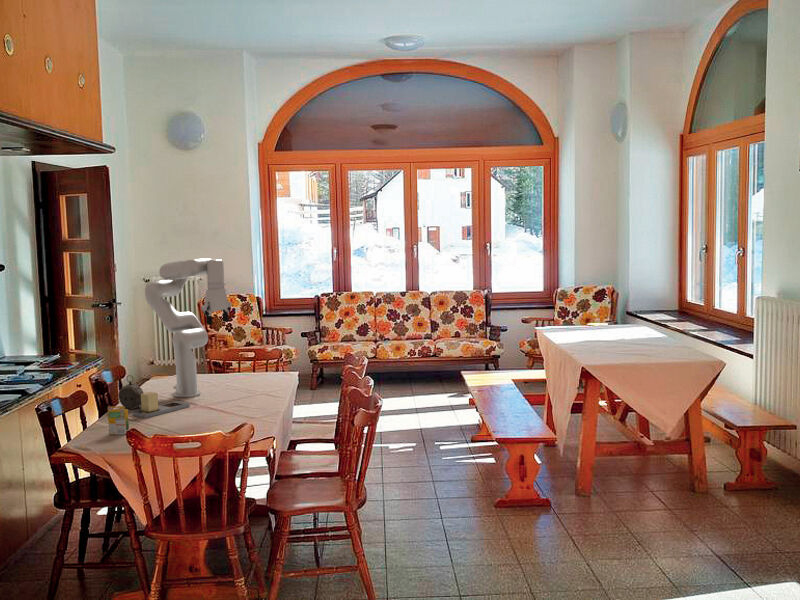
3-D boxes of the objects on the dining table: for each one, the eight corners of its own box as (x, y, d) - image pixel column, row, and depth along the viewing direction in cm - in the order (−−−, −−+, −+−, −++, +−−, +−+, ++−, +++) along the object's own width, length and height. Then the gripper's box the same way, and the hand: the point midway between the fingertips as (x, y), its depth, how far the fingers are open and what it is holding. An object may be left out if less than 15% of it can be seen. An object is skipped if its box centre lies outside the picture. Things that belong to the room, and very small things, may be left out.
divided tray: (132, 417, 370) (132, 411, 369) (176, 406, 389) (176, 400, 389) (145, 420, 364) (145, 414, 364) (189, 408, 383) (189, 403, 383)
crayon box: (129, 432, 345) (127, 404, 344) (126, 434, 342) (125, 406, 341) (111, 432, 346) (110, 404, 345) (108, 434, 343) (107, 406, 342)
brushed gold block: (141, 414, 371) (140, 393, 370) (151, 411, 375) (150, 391, 374) (149, 415, 368) (148, 395, 367) (158, 413, 372) (157, 393, 371)
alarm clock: (145, 410, 383) (143, 374, 381) (138, 413, 378) (136, 377, 376) (124, 408, 386) (123, 373, 384) (117, 411, 381) (115, 375, 379)
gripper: (224, 284, 400) (226, 320, 402) (195, 287, 387) (197, 324, 389) (235, 284, 396) (237, 321, 398) (206, 288, 382) (208, 326, 384)
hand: (217, 323), depth 393 cm, fingers open, 9 cm apart
